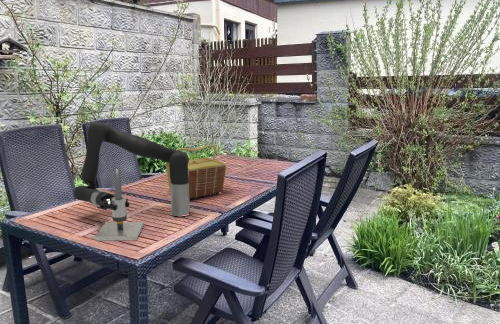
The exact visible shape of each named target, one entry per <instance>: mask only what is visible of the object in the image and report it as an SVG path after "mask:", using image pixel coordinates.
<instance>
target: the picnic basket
mask: <svg viewBox="0 0 500 324" xmlns="http://www.w3.org/2000/svg"><path fill="white" fill-rule="evenodd" d="M209 147H213V155H212V158H209V157H206V156H205V157H204V156H203V157H201V158H191V159H189V163H188V177H189V196H190V200H192V199H191V198H194V199H196V198H195V197H199V198H201V197H200V196H204V197H206V196H205V195H209V196H211V195H210V194H214V195H216V194H215V193H219V192H222V193H223V190H224V184H225V177H226V171H227V164H226V163H225V162H224V161H220V160H217V159H216V151H217V150H216V149H217V148H216V145H214V144H207V145H206V144H205V145H203V146H199V147H197V148H196V147H195V148H190V147H180V148H176V149H175V150H179V151H183V150H185V151H188V152H197V151H201V150H204V149H206V148H209ZM165 170H166V177H167V181H168V182H167V183H168V187H169V192H170V193H171V180H170V170H169V163H167V162H166V163H165Z"/></svg>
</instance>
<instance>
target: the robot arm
mask: <svg viewBox="0 0 500 324" xmlns="http://www.w3.org/2000/svg"><path fill="white" fill-rule="evenodd" d="M103 142H105V143H108V144H111V145H114V146H115V145H116V146H118V147H119V148H121V149H123V150H124V151H127V152H129V153H132V155H133V154H134V155H136V156H139V157H142V158H145V159H146V158H147V159H153V160H154V159H155V160H160V161H163V162H166V163H169V170H170V180H171V192H170V202H171V203H170V204H171V207H170V208H171V211H170V212H171V216H172V215H174V216H182V215H187V214H189V212H190V213H191V203H190V202H191V199H190V196H189V177H188V163H189V160H190V158H189V155H188V154H187V153H186V152H185V151H183V150H176V149H174V148H170V147H167V146H164V145H161V144H160V143H157V142H154V141H152V140H151V139H147V138H144V137H141V136H139V135H136V134H133V133H128V132H124V131H121V130H118V129H116V128H113V127H112V126H109V125H108V124H106V123H103V122H93V123H91V124H90V125H89V127H88V130H87V142H86V143H87V144H86V152H85V157H84V158H85V159H84V161H83V166H82V171H81V176H80V180H82V181H83V182H86V183H87V185H78V186H76V187H75V188H74V190H73V196H74V198H75V199H76V200H78V201H81V202H82V201H83V202H88V203H90V204H93V205H95V206H96V208H97V209H100V210H104V211H107V210H111V211H112V210H117V208H116V205H113V204H112V198H114V196H113V195H112V194H110V193H107V192H104V191H100V190H97V189H98V188H97V175H98V171H99V165H100V152H101V147H102V144H103ZM126 208H130V202H129V200H128V198H126ZM189 215H190V214H189Z"/></svg>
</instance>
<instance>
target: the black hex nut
mask: <svg viewBox="0 0 500 324" xmlns="http://www.w3.org/2000/svg"><path fill="white" fill-rule="evenodd" d="M127 220H128V216H127V215H126V216H125V217H121V218H115V217H113V216H112V221H113V222H122V221H123V222H127Z"/></svg>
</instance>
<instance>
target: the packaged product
mask: <svg viewBox="0 0 500 324" xmlns="http://www.w3.org/2000/svg"><path fill="white" fill-rule="evenodd" d="M96 189H97V190H100V191H104V192H107V193H110V194H112V195H113V196H114V197H116V195H115V192H112V191H109V190H107V189H105V188H96Z"/></svg>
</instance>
